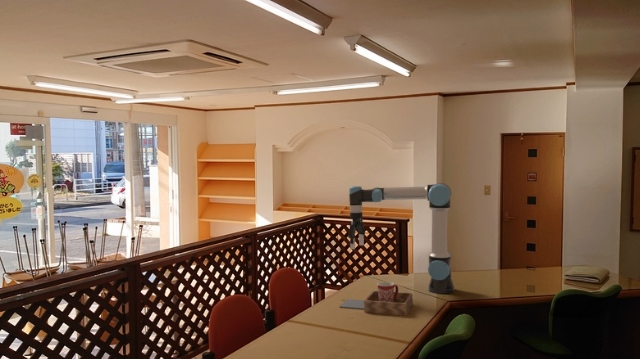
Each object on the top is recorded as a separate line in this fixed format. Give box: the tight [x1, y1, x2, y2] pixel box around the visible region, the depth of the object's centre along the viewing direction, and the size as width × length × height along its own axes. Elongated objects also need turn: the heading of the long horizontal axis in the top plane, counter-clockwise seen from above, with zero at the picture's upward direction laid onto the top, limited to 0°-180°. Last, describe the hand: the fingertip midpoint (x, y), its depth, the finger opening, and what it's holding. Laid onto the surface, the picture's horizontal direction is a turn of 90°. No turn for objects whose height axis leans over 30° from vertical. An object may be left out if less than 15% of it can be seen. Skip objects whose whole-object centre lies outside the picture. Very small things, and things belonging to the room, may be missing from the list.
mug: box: [376, 281, 399, 302], centre depth 255 cm, size 13×9×14 cm
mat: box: [339, 298, 365, 310], centre depth 263 cm, size 14×14×1 cm
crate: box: [363, 290, 414, 317], centre depth 256 cm, size 22×20×6 cm
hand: (357, 247), depth 287 cm, fingers open, 13 cm apart
